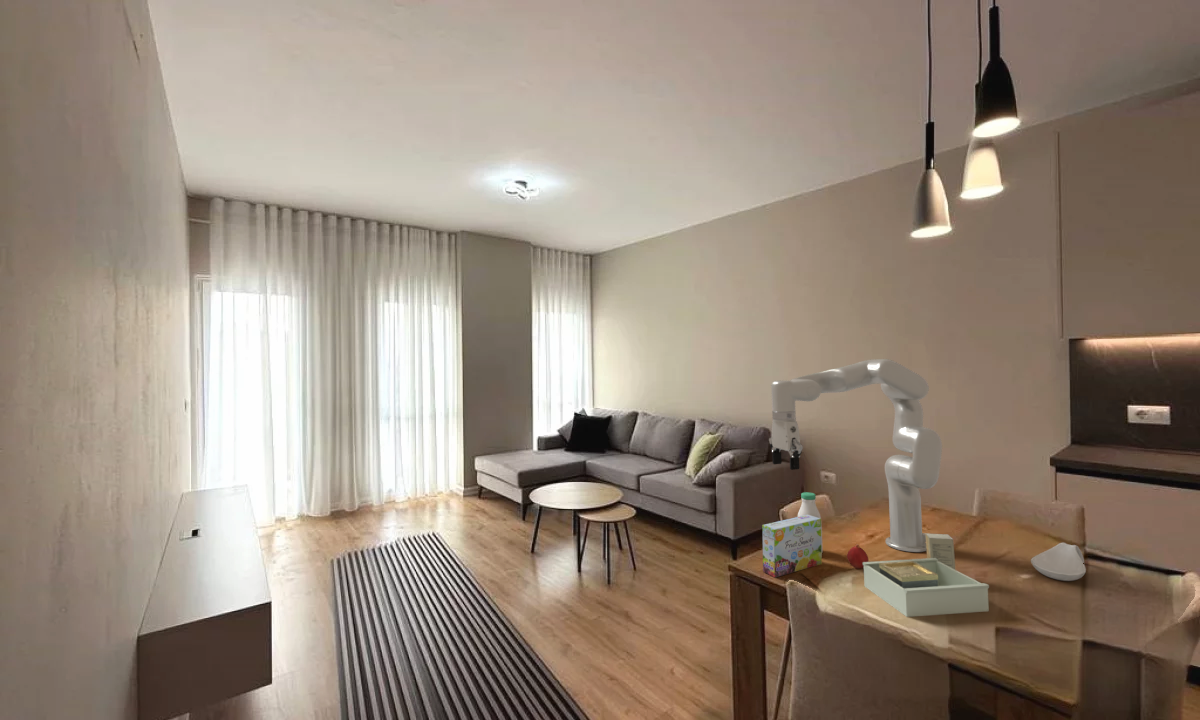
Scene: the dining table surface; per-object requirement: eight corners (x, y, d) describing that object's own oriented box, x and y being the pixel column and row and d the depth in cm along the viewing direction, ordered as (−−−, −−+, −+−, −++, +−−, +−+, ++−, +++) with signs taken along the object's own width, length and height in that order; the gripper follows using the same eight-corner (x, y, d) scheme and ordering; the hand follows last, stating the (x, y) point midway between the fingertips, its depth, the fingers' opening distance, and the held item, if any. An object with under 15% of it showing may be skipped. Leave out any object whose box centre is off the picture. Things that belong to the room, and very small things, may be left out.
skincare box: (951, 574, 145) (949, 534, 145) (956, 581, 140) (954, 539, 141) (926, 572, 147) (924, 532, 147) (931, 578, 143) (929, 537, 143)
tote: (936, 583, 139) (934, 557, 139) (990, 614, 121) (988, 585, 122) (863, 588, 138) (862, 562, 138) (907, 620, 120) (906, 590, 120)
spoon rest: (1081, 590, 133) (1079, 564, 133) (1026, 576, 143) (1025, 552, 143) (1099, 568, 147) (1098, 544, 147) (1048, 556, 156) (1047, 534, 157)
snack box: (776, 579, 145) (774, 529, 146) (762, 572, 150) (760, 524, 151) (823, 564, 155) (821, 517, 155) (808, 558, 160) (807, 513, 160)
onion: (843, 566, 153) (842, 541, 153) (860, 565, 153) (859, 540, 153) (855, 574, 147) (853, 548, 147) (872, 573, 147) (871, 546, 148)
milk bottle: (818, 547, 169) (815, 490, 169) (826, 556, 161) (823, 496, 162) (795, 547, 170) (793, 490, 170) (802, 555, 162) (800, 496, 162)
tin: (914, 590, 134) (913, 560, 134) (939, 605, 125) (938, 574, 125) (880, 592, 133) (879, 562, 133) (903, 608, 124) (901, 576, 124)
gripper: (810, 418, 157) (812, 470, 156) (778, 413, 173) (780, 461, 173) (790, 419, 155) (792, 472, 155) (760, 414, 172) (761, 462, 171)
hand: (785, 466), depth 164 cm, fingers open, 9 cm apart
